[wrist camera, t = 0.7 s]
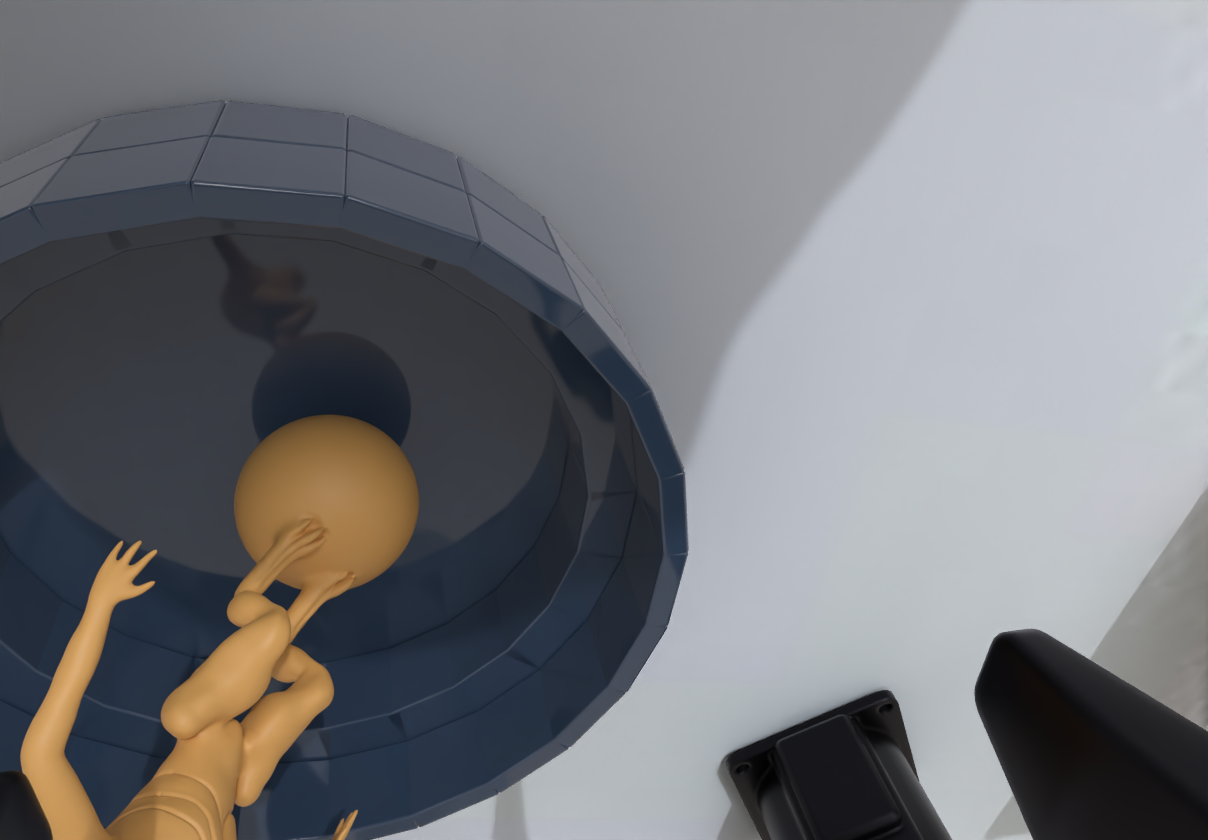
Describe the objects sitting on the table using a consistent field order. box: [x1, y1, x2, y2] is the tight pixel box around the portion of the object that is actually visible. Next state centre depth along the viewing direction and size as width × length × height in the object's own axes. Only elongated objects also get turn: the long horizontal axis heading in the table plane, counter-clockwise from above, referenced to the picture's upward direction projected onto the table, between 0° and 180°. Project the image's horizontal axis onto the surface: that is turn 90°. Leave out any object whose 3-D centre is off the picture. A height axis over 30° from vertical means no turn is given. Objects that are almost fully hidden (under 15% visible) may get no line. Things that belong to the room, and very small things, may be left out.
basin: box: [0, 100, 688, 840], centre depth 21 cm, size 17×17×5 cm
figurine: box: [20, 415, 419, 840], centre depth 18 cm, size 8×6×12 cm
